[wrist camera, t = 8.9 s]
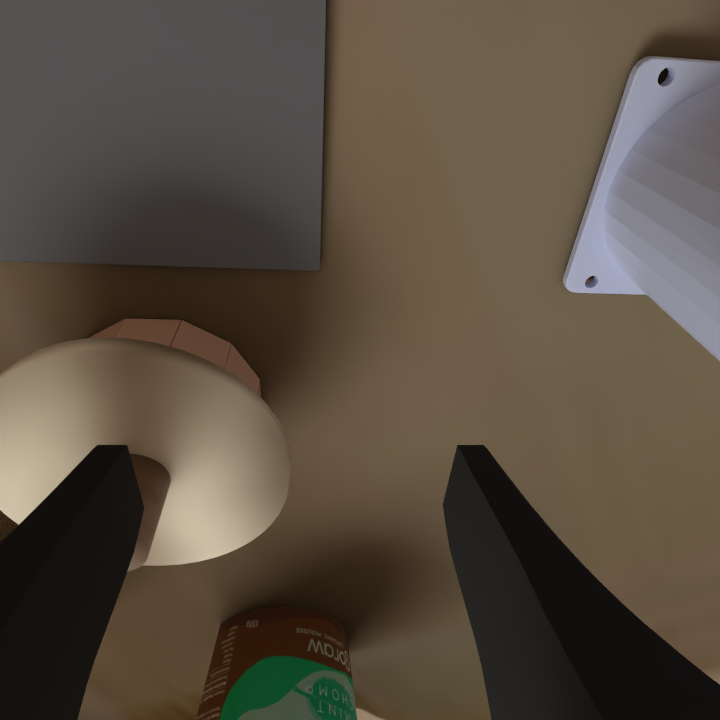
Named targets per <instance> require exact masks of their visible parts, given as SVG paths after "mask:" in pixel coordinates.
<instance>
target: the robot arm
mask: <svg viewBox="0 0 720 720" xmlns="http://www.w3.org/2000/svg"><path fill="white" fill-rule="evenodd" d="M665 68H667V69H668V76H667V78H666V79H665V81H664V82H662V83H661V84H659V83H658V76H659V74H660V73H661V71H662V70H664V69H665ZM590 276H594V278H593V280H592V281H591V282H589V283H585V281H586V280H587V278H589V277H590ZM563 283H564V286H565V287H566V288H567V289H568V290H569V291H570V292H575V293H607V294H641V295H648V296H649V297H650V298H651V299H652V300H653V301H654V302H656V303H657V304H658V305H659V306H660V307H661V308H662V309H663V310H664V311H665V312H666V313H668V314H669V315H670V316H671V317H672V318H673V319H674V320H675V321H676V322H677V323H679V324H680V325H681V326H682V327H683V328H684V329H685V330H686V331H687V332H688V333H689V334H691V335H692V336H693V337H694V338H695V339H696V340H697V341H698V342H699V343H700V344H702V345H703V346H704V347H705V348H706V349H707V350H708V351H709V352H710V353H711V354H712V355H714V356H715V357H716V358H717V359H718V360H719V361H720V61H713V60H699V59H686V58H672V57H659V56H648V57H644V58H643V59H641V60H639V61H638V62H637V63H636V64H635V65H634V67H633V69H632V71H631V73H630V75H629V78H628V81H627V84H626V88H625V91H624V94H623V97H622V100H621V103H620V106H619V109H618V112H617V115H616V118H615V121H614V124H613V127H612V130H611V133H610V136H609V139H608V143H607V146H606V149H605V152H604V155H603V158H602V161H601V164H600V167H599V170H598V173H597V176H596V179H595V182H594V185H593V188H592V191H591V194H590V198H589V201H588V204H587V207H586V210H585V213H584V216H583V219H582V222H581V225H580V228H579V231H578V234H577V237H576V240H575V243H574V246H573V249H572V252H571V256H570V259H569V262H568V265H567V268H566V271H565V274H564V277H563ZM443 508H444V515H445V522H446V529H447V535H448V541H449V547H450V551H451V555H452V558H453V562H454V566H455V569H456V573H457V577H458V580H459V584H460V587H461V591H462V595H463V598H464V602H465V605H466V609H467V612H468V616H469V620H470V623H471V627H472V630H473V634H474V637H475V641H476V645H477V649H478V653H479V657H480V661H481V665H482V670H483V675H484V681H485V686H486V692H487V697H488V702H489V708H490V713H491V719H492V720H720V685H719V684H718V683H717V682H715V681H714V680H713V679H711V678H710V677H709V676H708V675H706V674H705V673H704V672H702V671H701V670H700V669H699V668H697V667H696V666H695V665H694V664H692V663H691V662H690V661H689V660H687V659H686V658H685V657H684V656H683V655H681V654H680V653H679V652H678V651H677V650H675V649H674V648H673V647H672V646H671V645H669V644H668V643H667V642H666V641H665V640H663V639H662V638H661V637H660V636H659V635H657V634H656V633H655V632H654V631H653V630H652V629H650V628H649V627H648V626H647V625H646V624H644V623H643V622H642V621H641V620H640V619H639V618H638V617H637V616H635V615H634V614H633V613H632V612H631V611H630V610H629V609H628V608H627V607H626V606H624V605H623V604H622V603H621V602H620V601H619V600H618V599H617V598H616V597H615V596H614V595H613V594H612V593H611V592H610V591H609V590H608V589H607V588H606V587H605V586H604V585H603V584H602V583H601V582H600V581H599V580H598V579H597V578H596V577H595V576H594V575H593V574H592V573H591V572H590V571H589V570H588V569H587V568H586V567H585V566H584V565H583V564H582V563H581V562H580V561H579V560H578V559H577V558H576V557H575V555H574V554H573V553H572V552H571V551H570V550H569V549H568V548H567V547H566V546H565V545H564V543H563V542H562V541H561V540H560V539H559V538H558V537H557V536H556V534H555V533H554V532H553V531H552V530H551V529H550V527H549V526H548V525H547V524H546V523H545V522H544V520H543V519H542V518H541V517H540V516H539V514H538V513H537V512H536V511H535V510H534V508H533V507H532V506H531V505H530V504H529V502H528V501H527V500H526V499H525V497H524V496H523V495H522V494H521V492H520V491H519V490H518V488H517V487H516V486H515V485H514V483H513V482H512V481H511V480H510V478H509V477H508V476H507V474H506V473H505V472H504V470H503V469H502V468H501V466H500V465H499V464H498V462H497V461H496V460H495V458H494V457H493V456H492V455H491V453H490V452H489V451H488V449H487V448H486V447H485V446H484V445H457V449H456V453H455V457H454V461H453V465H452V469H451V473H450V478H449V482H448V486H447V490H446V494H445V498H444V502H443ZM143 511H144V504H143V500H142V496H141V493H140V489H139V486H138V482H137V478H136V475H135V471H134V468H133V464H132V460H131V457H130V453H129V450H128V446H127V445H97V446H96V447H95V448H93V449H92V450H91V451H90V453H89V454H88V455H87V456H86V457H85V458H84V459H83V460H82V461H81V462H80V463H79V464H78V465H77V466H76V467H75V468H74V469H73V470H72V471H71V472H70V473H69V474H68V475H67V476H66V478H65V479H64V480H63V481H62V482H61V483H60V484H59V485H58V486H57V487H56V488H55V489H54V490H53V491H52V492H51V493H50V494H49V495H48V496H47V497H46V498H45V499H44V500H43V501H42V502H41V503H40V504H39V505H38V506H37V507H36V508H35V509H34V510H33V511H32V512H31V513H30V514H29V515H28V516H27V517H26V518H25V519H24V520H23V521H22V522H21V523H20V524H19V525H18V526H17V527H16V528H15V529H14V530H13V531H12V532H11V533H10V534H9V535H8V536H7V537H6V538H5V539H4V540H2V541H1V542H0V720H77V719H78V715H79V711H80V708H81V704H82V700H83V696H84V693H85V689H86V685H87V682H88V679H89V676H90V673H91V670H92V667H93V664H94V660H95V658H96V655H97V652H98V649H99V647H100V644H101V641H102V639H103V636H104V633H105V631H106V628H107V625H108V622H109V620H110V617H111V614H112V612H113V609H114V606H115V603H116V601H117V598H118V595H119V593H120V590H121V587H122V584H123V582H124V579H125V576H126V573H127V571H128V568H129V565H130V562H131V559H132V557H133V554H134V550H135V546H136V542H137V538H138V534H139V530H140V525H141V520H142V516H143Z"/></svg>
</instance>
